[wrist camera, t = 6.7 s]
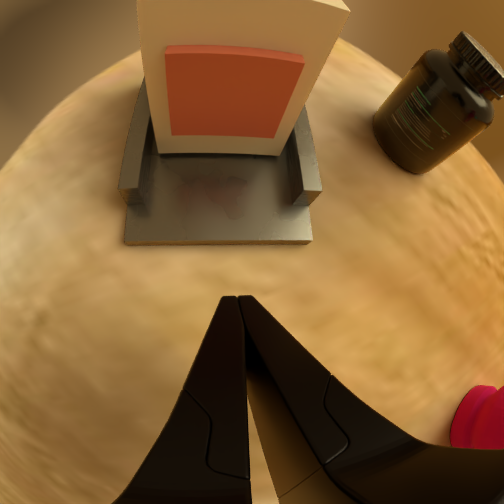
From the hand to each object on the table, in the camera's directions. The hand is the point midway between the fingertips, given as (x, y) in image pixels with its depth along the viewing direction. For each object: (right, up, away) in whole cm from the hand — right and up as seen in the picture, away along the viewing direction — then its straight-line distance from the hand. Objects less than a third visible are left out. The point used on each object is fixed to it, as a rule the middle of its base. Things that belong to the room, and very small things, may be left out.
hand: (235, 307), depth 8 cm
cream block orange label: (-1, +9, +8) cm, 12 cm away
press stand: (-2, +8, +9) cm, 12 cm away
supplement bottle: (+13, +11, +12) cm, 21 cm away
